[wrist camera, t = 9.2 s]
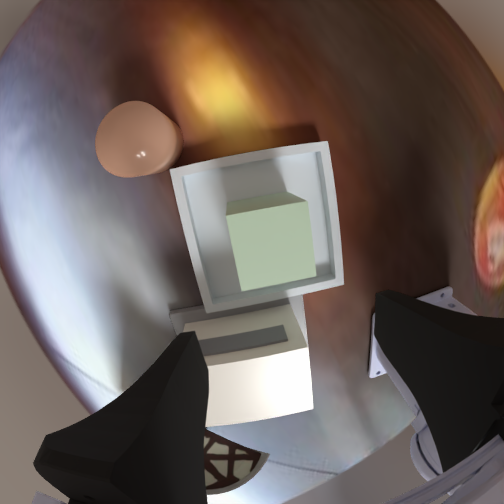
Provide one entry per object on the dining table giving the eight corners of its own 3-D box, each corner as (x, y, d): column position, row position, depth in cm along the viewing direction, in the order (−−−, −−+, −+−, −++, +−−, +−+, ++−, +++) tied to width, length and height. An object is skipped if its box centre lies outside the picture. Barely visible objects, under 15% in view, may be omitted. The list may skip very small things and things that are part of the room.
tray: (320, 142, 17) (327, 141, 16) (337, 277, 21) (343, 284, 19) (174, 169, 17) (169, 169, 16) (207, 304, 20) (206, 313, 19)
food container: (91, 429, 18) (105, 463, 11) (119, 382, 22) (146, 392, 15) (192, 480, 22) (246, 512, 15) (215, 437, 26) (274, 455, 19)
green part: (287, 191, 18) (307, 200, 13) (295, 248, 19) (316, 276, 14) (227, 202, 18) (225, 215, 13) (238, 259, 19) (241, 291, 14)
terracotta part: (178, 109, 16) (160, 90, 11) (188, 165, 17) (173, 165, 13) (123, 126, 16) (90, 116, 11) (133, 180, 17) (102, 186, 13)
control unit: (299, 285, 20) (324, 330, 15) (308, 364, 23) (327, 414, 17) (170, 310, 20) (152, 361, 14) (199, 383, 23) (194, 437, 17)
